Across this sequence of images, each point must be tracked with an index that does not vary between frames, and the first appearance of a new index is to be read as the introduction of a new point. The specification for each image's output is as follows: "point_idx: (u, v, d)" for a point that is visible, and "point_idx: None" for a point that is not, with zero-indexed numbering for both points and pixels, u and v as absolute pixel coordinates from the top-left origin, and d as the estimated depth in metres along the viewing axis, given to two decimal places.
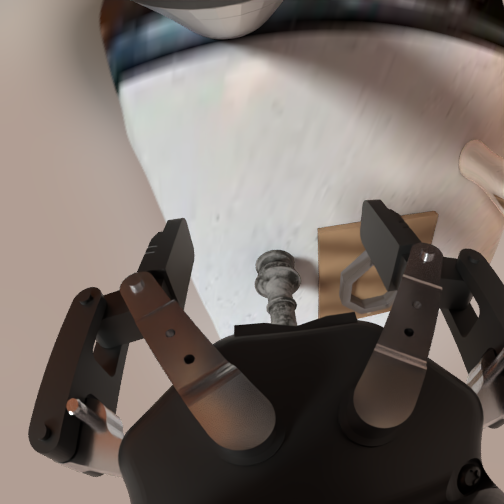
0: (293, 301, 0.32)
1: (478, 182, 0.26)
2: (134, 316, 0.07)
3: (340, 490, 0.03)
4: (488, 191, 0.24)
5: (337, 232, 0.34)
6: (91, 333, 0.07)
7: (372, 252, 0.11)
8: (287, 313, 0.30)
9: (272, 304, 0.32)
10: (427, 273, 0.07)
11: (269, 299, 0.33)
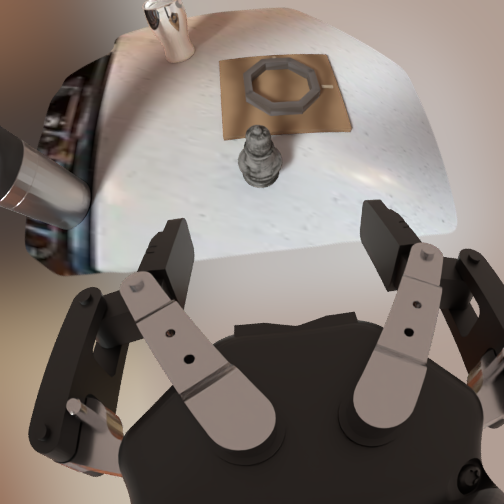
0: None
1: (182, 45, 0.40)
2: (134, 316, 0.07)
3: (340, 490, 0.03)
4: (177, 37, 0.38)
5: (224, 124, 0.40)
6: (91, 333, 0.07)
7: (372, 252, 0.11)
8: None
9: (251, 153, 0.32)
10: (428, 273, 0.07)
11: (254, 159, 0.33)
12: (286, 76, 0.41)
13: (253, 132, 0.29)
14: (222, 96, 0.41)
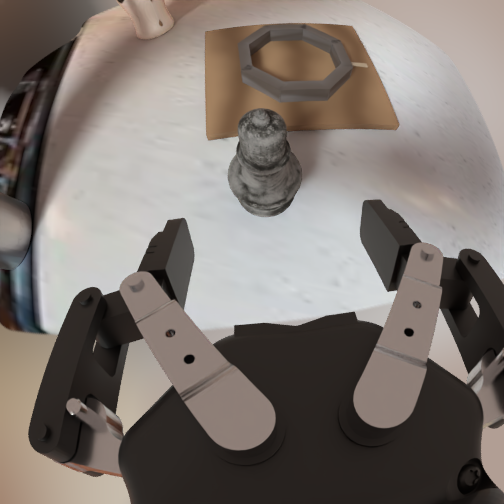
0: None
1: (155, 14, 0.26)
2: (134, 316, 0.07)
3: (340, 490, 0.03)
4: (148, 3, 0.23)
5: (209, 116, 0.26)
6: (91, 333, 0.07)
7: (372, 252, 0.11)
8: None
9: (249, 163, 0.18)
10: (428, 273, 0.07)
11: (255, 173, 0.19)
12: (300, 49, 0.26)
13: (253, 122, 0.14)
14: (207, 76, 0.26)
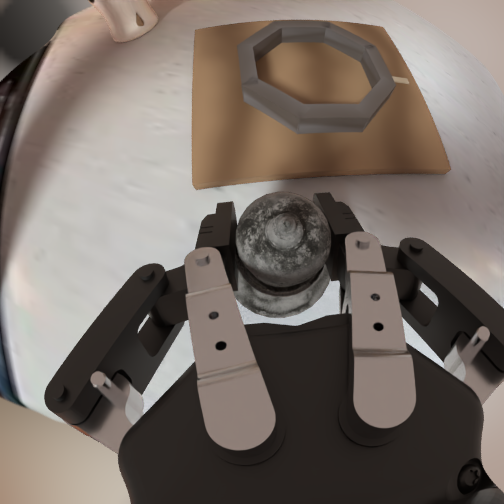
0: None
1: (132, 10, 0.19)
2: (188, 289, 0.08)
3: (340, 490, 0.03)
4: None
5: (196, 153, 0.19)
6: (141, 311, 0.08)
7: None
8: None
9: (257, 279, 0.11)
10: (370, 261, 0.08)
11: None
12: (322, 54, 0.20)
13: (268, 237, 0.07)
14: (195, 91, 0.20)
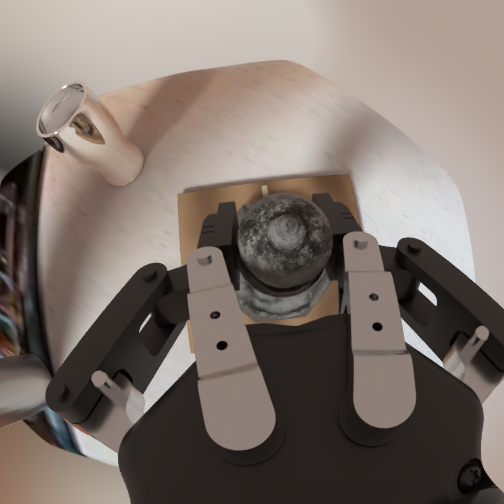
0: None
1: (118, 166, 0.29)
2: (190, 288, 0.08)
3: (340, 490, 0.03)
4: (106, 161, 0.27)
5: (191, 332, 0.29)
6: (143, 311, 0.08)
7: None
8: None
9: (258, 280, 0.11)
10: (368, 261, 0.08)
11: None
12: None
13: (271, 238, 0.07)
14: None
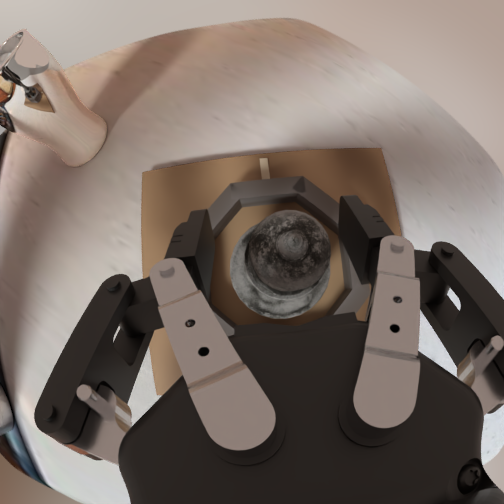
0: None
1: (70, 137, 0.19)
2: (159, 301, 0.08)
3: (340, 490, 0.03)
4: (51, 129, 0.17)
5: (156, 367, 0.19)
6: (114, 321, 0.07)
7: (348, 246, 0.12)
8: None
9: (264, 284, 0.12)
10: (401, 265, 0.08)
11: None
12: None
13: (279, 250, 0.09)
14: None
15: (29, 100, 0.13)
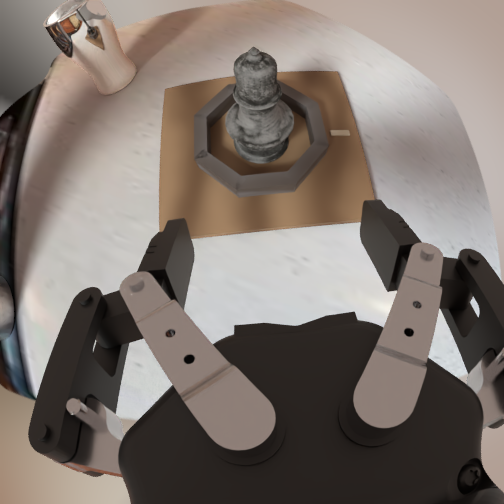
0: None
1: (111, 68, 0.25)
2: (134, 316, 0.07)
3: (340, 490, 0.03)
4: (100, 58, 0.23)
5: (162, 215, 0.25)
6: (91, 333, 0.07)
7: (372, 252, 0.11)
8: None
9: (244, 100, 0.18)
10: (428, 273, 0.07)
11: (250, 112, 0.19)
12: None
13: (247, 59, 0.15)
14: (162, 157, 0.26)
15: (92, 32, 0.18)
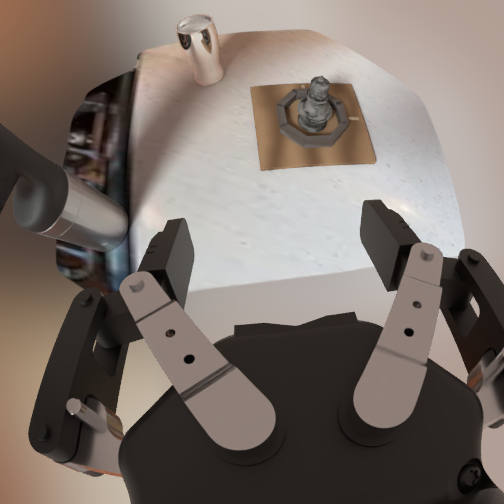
0: None
1: (213, 68, 0.45)
2: (134, 316, 0.07)
3: (340, 490, 0.03)
4: (209, 61, 0.42)
5: (261, 155, 0.44)
6: (91, 333, 0.07)
7: (372, 252, 0.11)
8: (310, 84, 0.36)
9: (313, 99, 0.37)
10: (428, 273, 0.07)
11: (314, 104, 0.38)
12: None
13: (318, 80, 0.34)
14: (256, 125, 0.45)
15: (211, 44, 0.38)
